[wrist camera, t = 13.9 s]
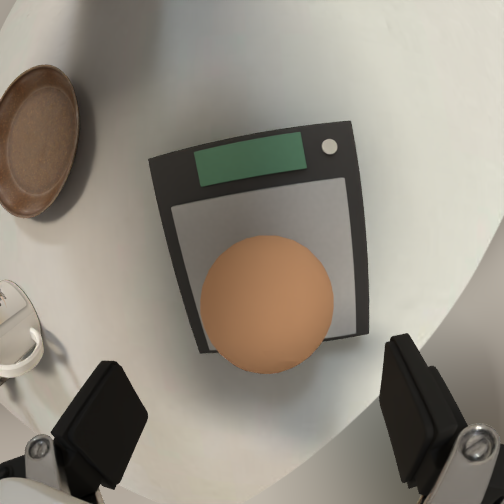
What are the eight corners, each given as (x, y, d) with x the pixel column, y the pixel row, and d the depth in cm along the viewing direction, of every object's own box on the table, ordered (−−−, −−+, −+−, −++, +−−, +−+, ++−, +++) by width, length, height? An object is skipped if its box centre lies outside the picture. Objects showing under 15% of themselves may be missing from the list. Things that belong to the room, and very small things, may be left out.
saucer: (47, 47, 18) (31, 42, 16) (123, 119, 20) (106, 115, 18) (-10, 158, 22) (-26, 160, 20) (49, 241, 25) (32, 249, 22)
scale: (161, 158, 21) (144, 159, 18) (343, 124, 19) (353, 119, 16) (206, 337, 26) (198, 358, 23) (362, 318, 24) (370, 338, 21)
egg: (285, 200, 18) (288, 232, 10) (342, 288, 20) (374, 365, 12) (195, 260, 20) (145, 324, 12) (256, 337, 22) (243, 423, 14)
